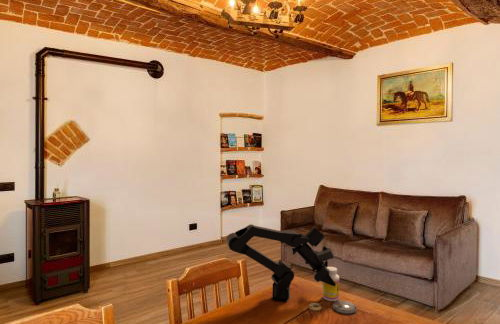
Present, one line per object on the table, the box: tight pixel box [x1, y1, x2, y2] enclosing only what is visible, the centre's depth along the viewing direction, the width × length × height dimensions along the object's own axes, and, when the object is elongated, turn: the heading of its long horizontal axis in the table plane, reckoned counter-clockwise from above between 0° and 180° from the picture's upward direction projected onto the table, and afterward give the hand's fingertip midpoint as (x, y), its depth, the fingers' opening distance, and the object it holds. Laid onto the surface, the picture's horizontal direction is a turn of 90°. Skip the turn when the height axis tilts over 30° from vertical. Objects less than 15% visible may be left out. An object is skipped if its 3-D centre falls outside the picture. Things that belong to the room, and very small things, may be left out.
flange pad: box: [332, 300, 357, 315], centre depth 139 cm, size 9×9×1 cm
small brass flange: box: [308, 302, 323, 312], centre depth 139 cm, size 5×5×1 cm
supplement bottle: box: [322, 266, 340, 302], centre depth 148 cm, size 7×7×13 cm
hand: (334, 282), depth 147 cm, fingers closed on supplement bottle, 7 cm apart
